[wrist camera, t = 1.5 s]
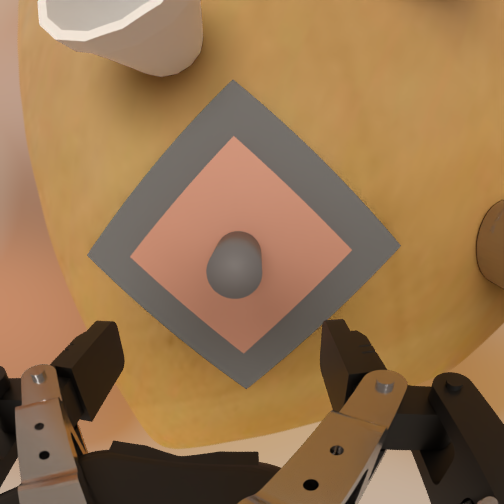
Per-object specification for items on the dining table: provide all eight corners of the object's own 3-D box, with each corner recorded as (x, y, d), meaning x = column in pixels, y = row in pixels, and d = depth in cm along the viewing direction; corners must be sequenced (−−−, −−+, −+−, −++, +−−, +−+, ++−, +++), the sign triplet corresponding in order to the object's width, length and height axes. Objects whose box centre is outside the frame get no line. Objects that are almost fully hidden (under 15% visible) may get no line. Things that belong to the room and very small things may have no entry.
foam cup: (243, 41, 23) (233, -49, 10) (164, 114, 24) (90, 73, 12) (172, -12, 21) (128, -95, 9) (100, 55, 23) (17, 4, 10)
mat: (398, 244, 27) (400, 245, 26) (246, 385, 30) (246, 389, 30) (233, 81, 24) (232, 79, 23) (89, 253, 27) (87, 255, 27)
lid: (348, 247, 26) (372, 267, 20) (244, 347, 29) (241, 387, 23) (234, 137, 24) (227, 126, 18) (134, 253, 27) (104, 274, 21)
